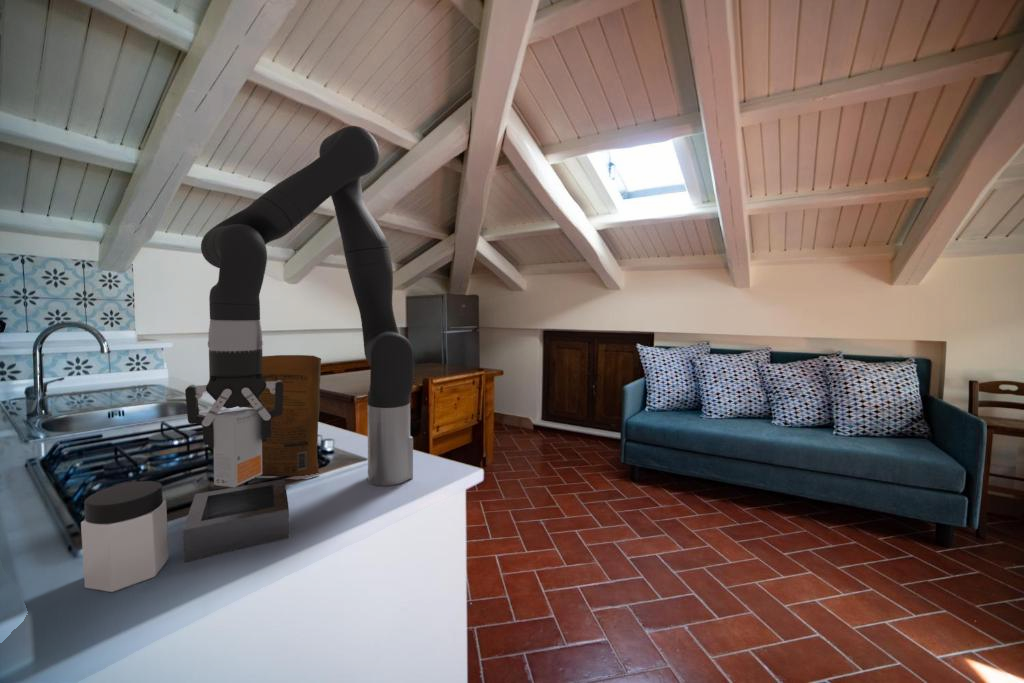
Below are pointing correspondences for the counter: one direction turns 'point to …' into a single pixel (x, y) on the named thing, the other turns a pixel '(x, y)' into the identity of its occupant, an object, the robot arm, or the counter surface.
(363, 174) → the robot arm
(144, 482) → the jar
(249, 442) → the skincare box
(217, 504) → the socket block
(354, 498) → the counter surface
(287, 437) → the pancake mix bag
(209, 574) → the counter surface
